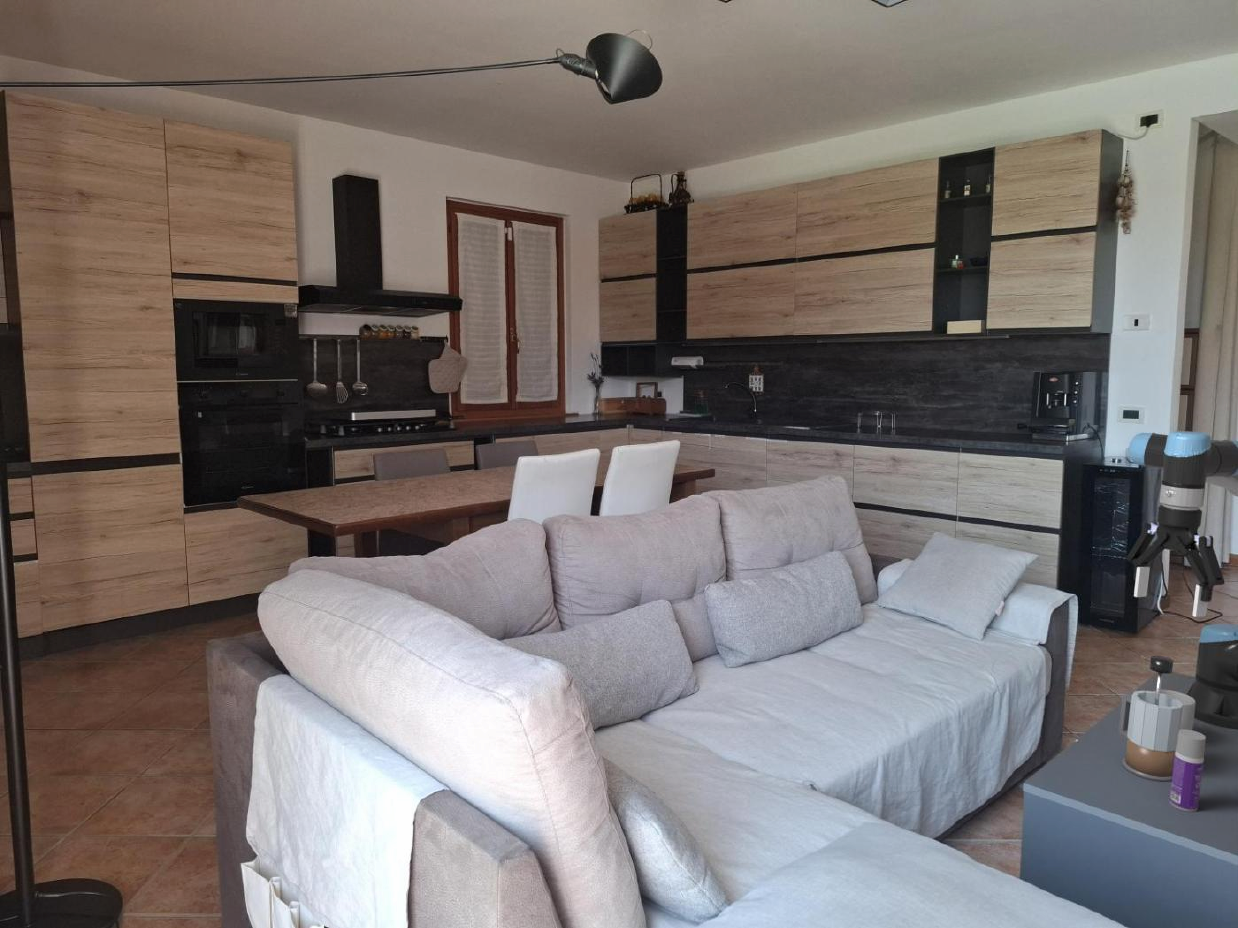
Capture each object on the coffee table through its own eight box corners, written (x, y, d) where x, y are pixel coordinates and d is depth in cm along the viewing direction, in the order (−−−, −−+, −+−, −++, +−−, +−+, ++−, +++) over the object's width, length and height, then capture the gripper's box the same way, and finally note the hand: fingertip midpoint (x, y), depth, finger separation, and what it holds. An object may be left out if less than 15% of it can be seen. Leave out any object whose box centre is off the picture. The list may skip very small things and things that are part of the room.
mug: (1184, 754, 188) (1189, 707, 186) (1141, 740, 194) (1146, 695, 193) (1199, 738, 196) (1205, 694, 194) (1158, 725, 202) (1163, 682, 201)
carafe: (1136, 750, 189) (1144, 683, 187) (1188, 778, 177) (1197, 706, 175) (1101, 755, 186) (1109, 687, 184) (1151, 784, 174) (1160, 711, 172)
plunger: (1151, 729, 183) (1160, 652, 181) (1176, 742, 177) (1185, 663, 175) (1129, 732, 181) (1138, 655, 179) (1154, 745, 176) (1163, 665, 173)
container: (1198, 814, 163) (1207, 742, 161) (1169, 806, 166) (1178, 735, 163) (1196, 803, 167) (1205, 732, 165) (1168, 796, 170) (1177, 726, 167)
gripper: (1114, 496, 183) (1104, 589, 186) (1225, 519, 159) (1212, 626, 162) (1141, 495, 185) (1131, 587, 188) (1254, 518, 161) (1240, 623, 164)
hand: (1168, 605), depth 175 cm, fingers open, 13 cm apart
